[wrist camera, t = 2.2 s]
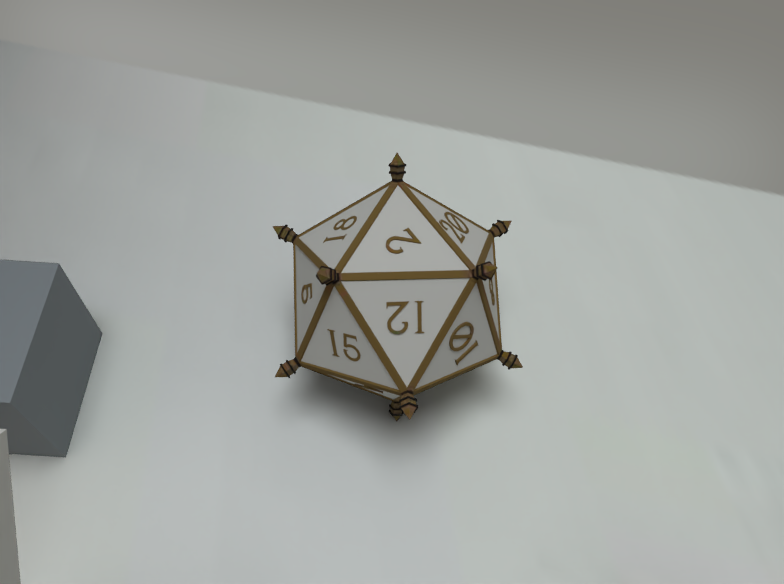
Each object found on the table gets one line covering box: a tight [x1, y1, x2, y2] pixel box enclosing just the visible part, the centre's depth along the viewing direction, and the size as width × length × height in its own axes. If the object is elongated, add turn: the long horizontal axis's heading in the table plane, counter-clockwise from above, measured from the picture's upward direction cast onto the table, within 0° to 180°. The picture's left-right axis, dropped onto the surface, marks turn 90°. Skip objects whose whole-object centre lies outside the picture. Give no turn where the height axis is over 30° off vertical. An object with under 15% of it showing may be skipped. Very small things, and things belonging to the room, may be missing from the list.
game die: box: [273, 153, 523, 421], centre depth 25 cm, size 9×8×10 cm
